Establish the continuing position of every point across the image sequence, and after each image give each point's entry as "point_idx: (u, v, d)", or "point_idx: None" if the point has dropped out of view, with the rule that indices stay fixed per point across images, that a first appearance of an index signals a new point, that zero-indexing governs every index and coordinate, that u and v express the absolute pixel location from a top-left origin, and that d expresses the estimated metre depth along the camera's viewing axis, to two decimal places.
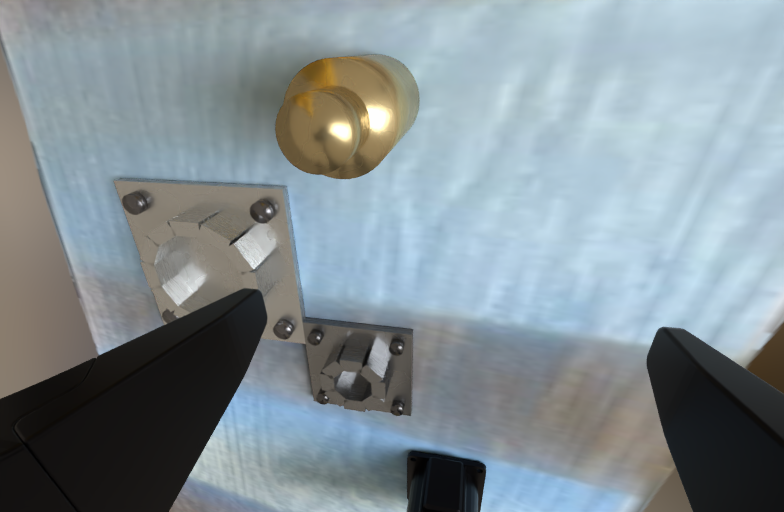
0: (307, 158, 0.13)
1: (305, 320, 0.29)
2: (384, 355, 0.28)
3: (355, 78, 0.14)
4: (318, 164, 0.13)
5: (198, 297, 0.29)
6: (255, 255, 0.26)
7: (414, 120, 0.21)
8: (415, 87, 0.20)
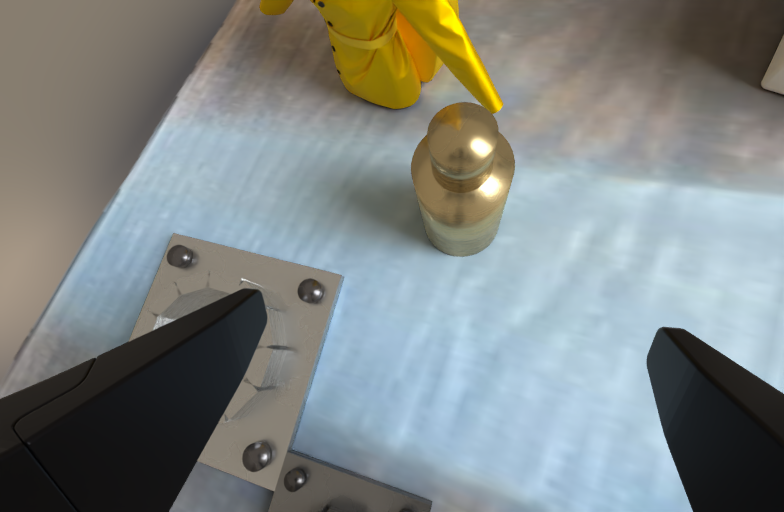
0: (449, 149, 0.15)
1: (290, 451, 0.21)
2: None
3: None
4: (458, 155, 0.14)
5: None
6: (279, 335, 0.22)
7: (491, 241, 0.23)
8: None
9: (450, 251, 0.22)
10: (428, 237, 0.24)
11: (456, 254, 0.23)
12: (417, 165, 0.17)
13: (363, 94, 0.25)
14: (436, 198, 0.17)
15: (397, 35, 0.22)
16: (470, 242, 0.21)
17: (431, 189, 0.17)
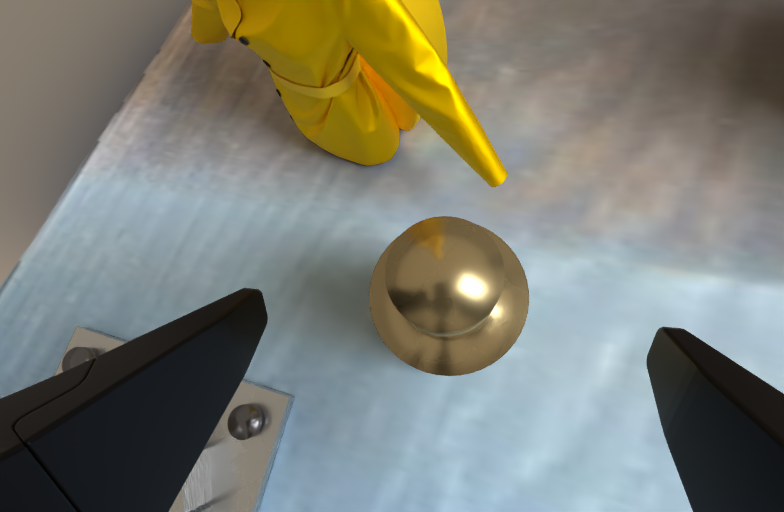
0: (422, 302, 0.09)
1: None
2: None
3: None
4: (436, 315, 0.08)
5: None
6: (198, 490, 0.16)
7: None
8: None
9: None
10: None
11: None
12: (379, 290, 0.11)
13: (324, 147, 0.20)
14: (406, 347, 0.11)
15: (362, 77, 0.16)
16: None
17: (399, 332, 0.11)
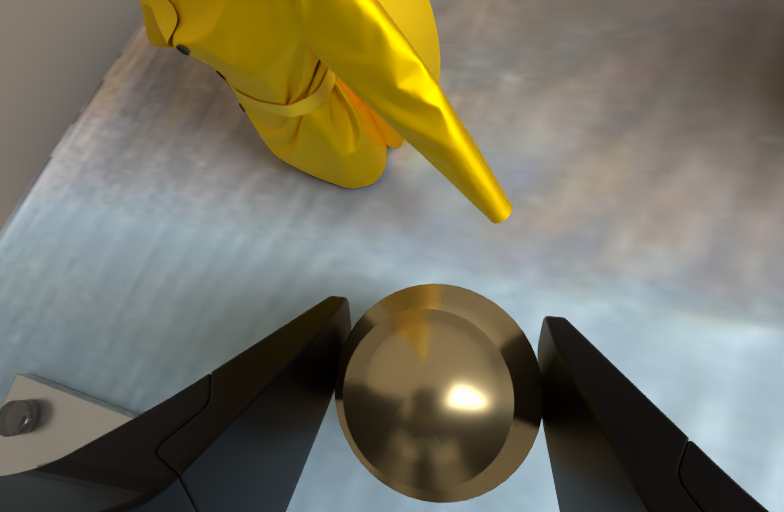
0: (394, 440, 0.06)
1: None
2: None
3: (488, 325, 0.09)
4: (415, 461, 0.06)
5: None
6: None
7: None
8: None
9: None
10: None
11: None
12: None
13: (299, 168, 0.17)
14: None
15: (338, 91, 0.13)
16: None
17: None
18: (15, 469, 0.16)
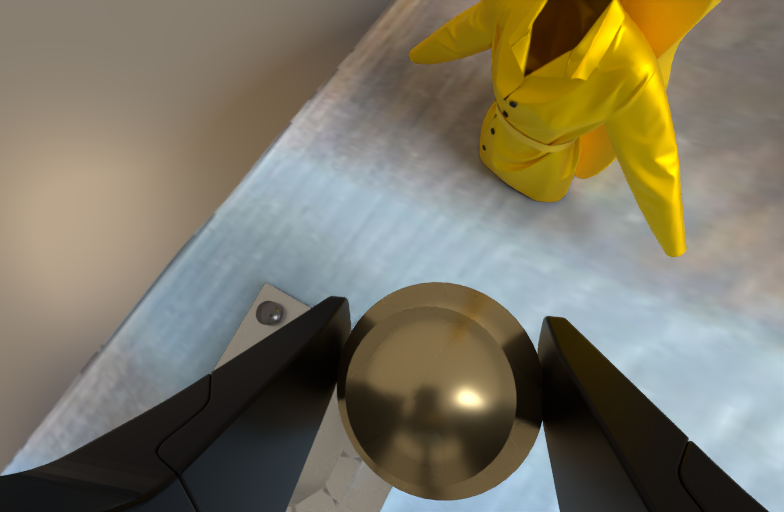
0: (396, 437, 0.06)
1: None
2: None
3: (489, 323, 0.09)
4: (417, 458, 0.06)
5: None
6: None
7: None
8: None
9: None
10: None
11: None
12: None
13: (505, 179, 0.22)
14: None
15: (576, 138, 0.19)
16: None
17: None
18: None
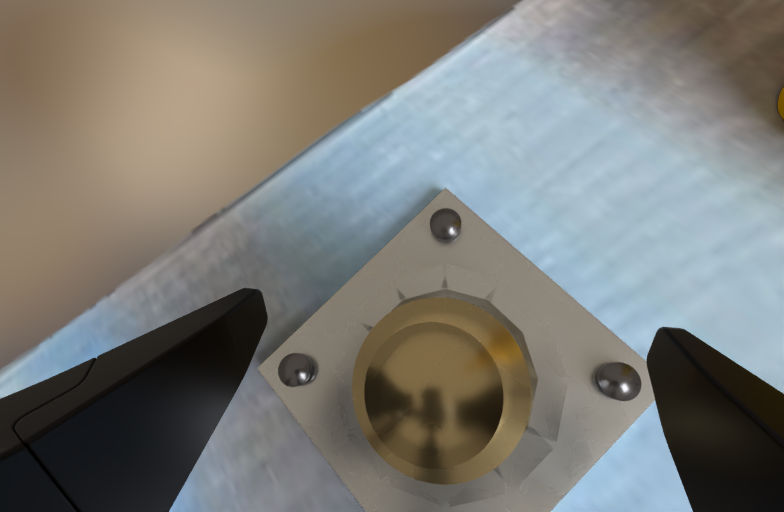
0: (406, 429, 0.07)
1: None
2: None
3: (484, 333, 0.10)
4: (423, 446, 0.07)
5: None
6: None
7: None
8: None
9: None
10: None
11: None
12: (363, 378, 0.10)
13: None
14: None
15: None
16: None
17: None
18: (425, 265, 0.18)
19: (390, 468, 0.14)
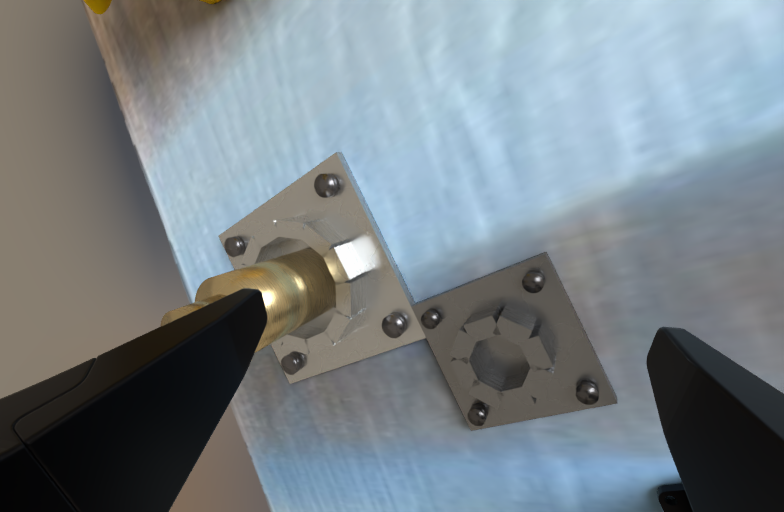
0: None
1: (414, 305, 0.23)
2: (525, 307, 0.20)
3: (209, 288, 0.20)
4: None
5: (305, 326, 0.27)
6: (333, 235, 0.23)
7: None
8: (308, 252, 0.25)
9: (328, 307, 0.25)
10: None
11: (334, 300, 0.25)
12: None
13: None
14: None
15: None
16: (315, 301, 0.23)
17: None
18: None
19: (328, 338, 0.24)
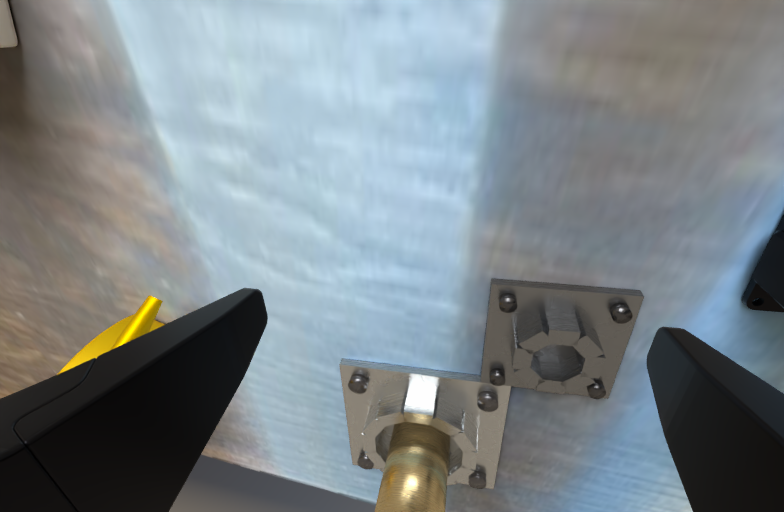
0: None
1: (481, 378, 0.27)
2: (525, 314, 0.23)
3: None
4: None
5: (453, 454, 0.31)
6: (396, 402, 0.28)
7: None
8: None
9: (447, 434, 0.29)
10: None
11: None
12: None
13: None
14: None
15: None
16: (434, 448, 0.27)
17: None
18: None
19: (470, 452, 0.28)
